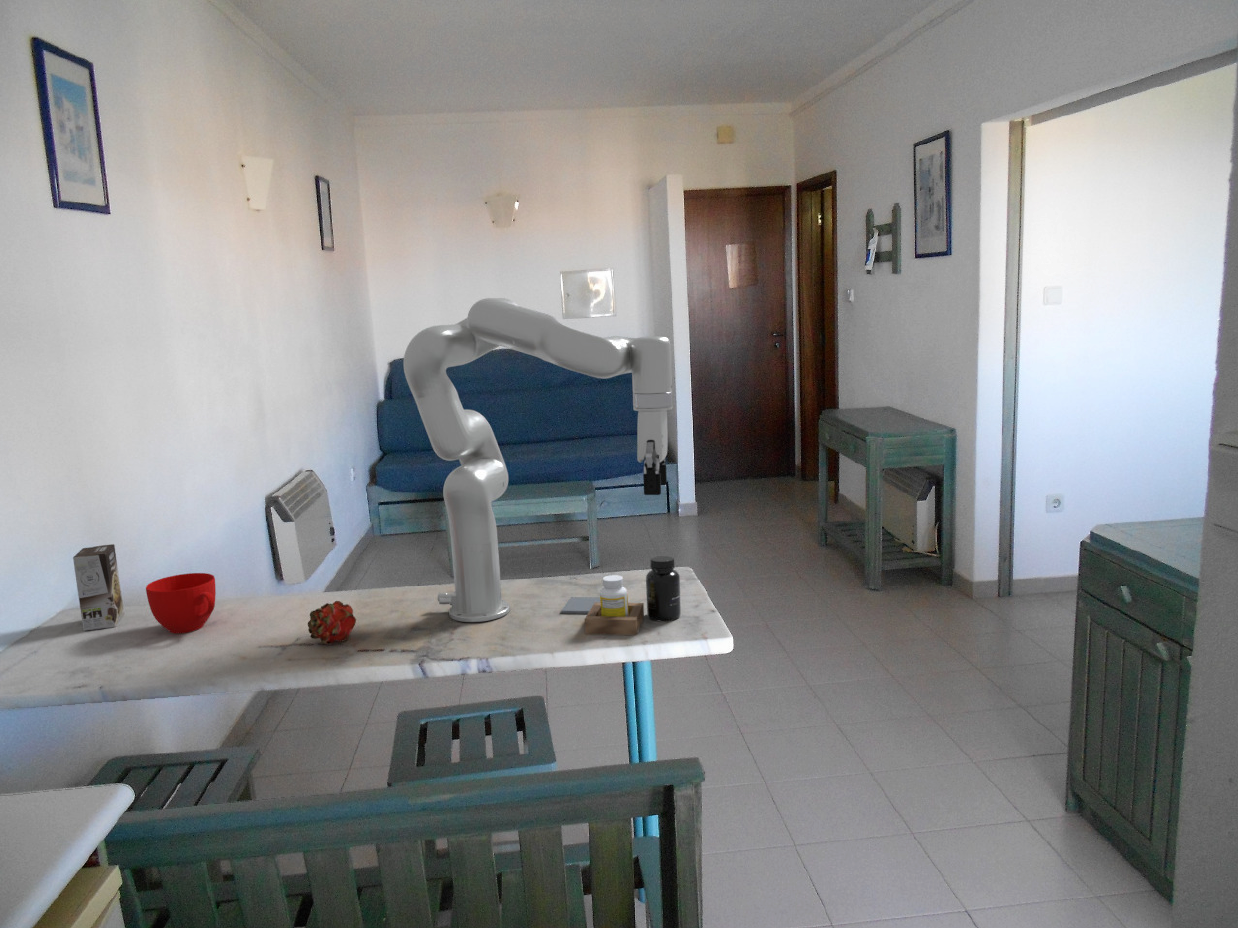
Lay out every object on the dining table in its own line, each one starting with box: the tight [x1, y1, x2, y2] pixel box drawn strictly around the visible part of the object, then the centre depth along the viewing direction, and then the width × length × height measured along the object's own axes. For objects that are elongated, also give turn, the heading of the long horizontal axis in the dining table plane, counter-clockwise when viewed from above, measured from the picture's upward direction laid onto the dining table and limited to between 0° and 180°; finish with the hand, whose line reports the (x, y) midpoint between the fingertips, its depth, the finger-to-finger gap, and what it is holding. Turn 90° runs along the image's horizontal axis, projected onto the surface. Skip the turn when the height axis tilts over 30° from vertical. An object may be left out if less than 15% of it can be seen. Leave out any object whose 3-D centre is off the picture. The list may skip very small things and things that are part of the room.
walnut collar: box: [584, 602, 645, 636], centre depth 179 cm, size 10×10×3 cm
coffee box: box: [72, 543, 125, 632], centre depth 194 cm, size 9×6×16 cm
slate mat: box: [560, 596, 600, 615], centre depth 192 cm, size 9×9×1 cm
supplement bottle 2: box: [645, 555, 682, 622], centre depth 183 cm, size 7×7×12 cm
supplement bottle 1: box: [599, 574, 629, 617], centre depth 179 cm, size 5×5×10 cm
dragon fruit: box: [307, 600, 357, 646], centre depth 178 cm, size 8×8×12 cm
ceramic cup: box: [145, 572, 217, 634], centre depth 188 cm, size 13×17×10 cm
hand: (655, 489), depth 177 cm, fingers open, 9 cm apart
